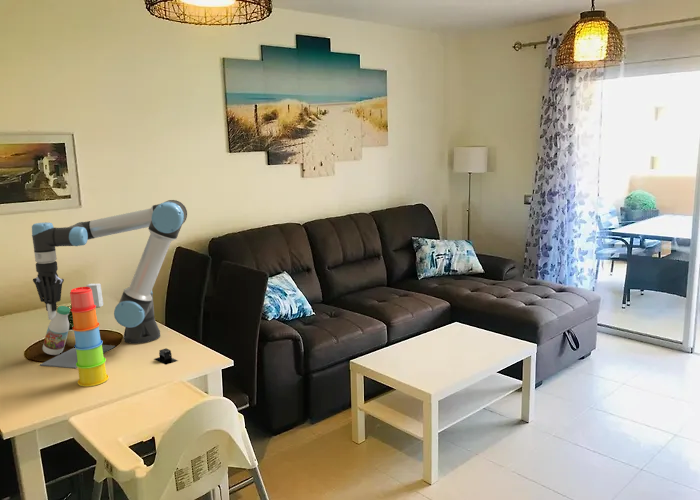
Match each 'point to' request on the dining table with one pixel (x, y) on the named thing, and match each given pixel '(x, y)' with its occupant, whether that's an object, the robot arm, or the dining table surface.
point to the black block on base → (165, 357)
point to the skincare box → (96, 294)
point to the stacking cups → (87, 338)
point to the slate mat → (69, 358)
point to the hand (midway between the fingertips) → (52, 318)
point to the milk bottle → (57, 332)
